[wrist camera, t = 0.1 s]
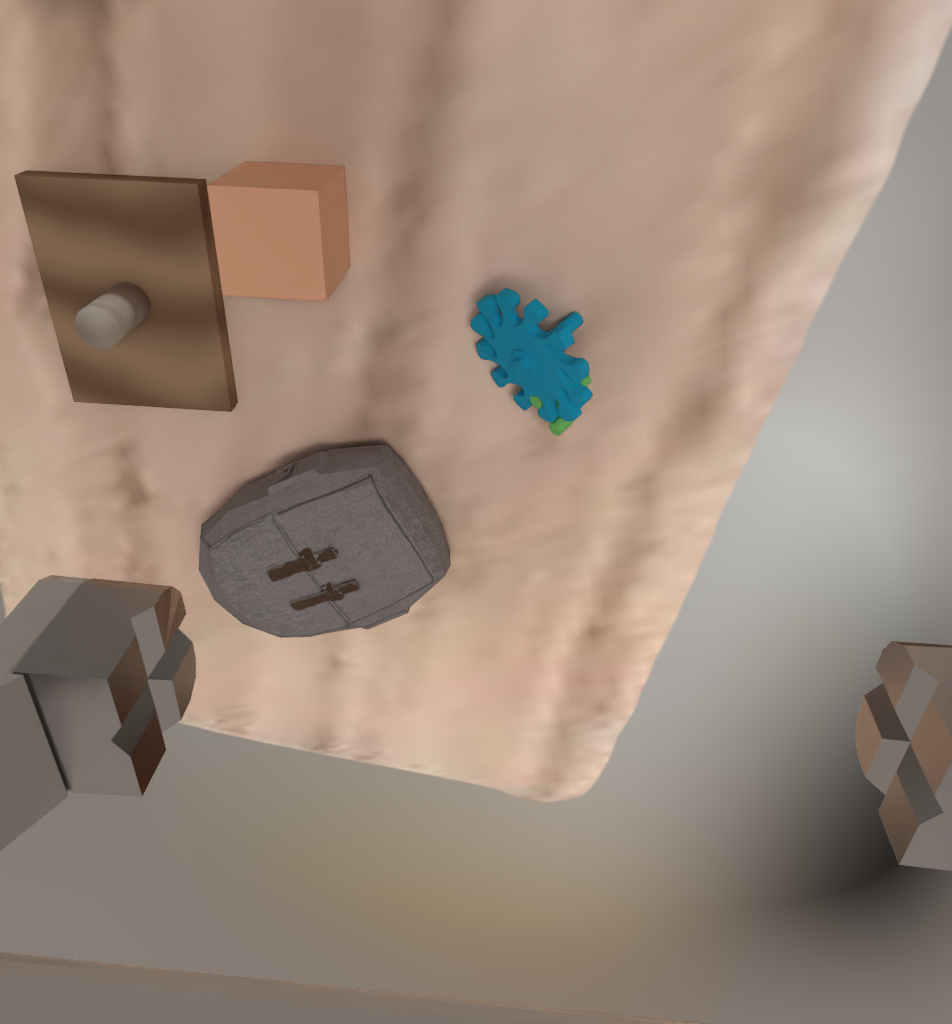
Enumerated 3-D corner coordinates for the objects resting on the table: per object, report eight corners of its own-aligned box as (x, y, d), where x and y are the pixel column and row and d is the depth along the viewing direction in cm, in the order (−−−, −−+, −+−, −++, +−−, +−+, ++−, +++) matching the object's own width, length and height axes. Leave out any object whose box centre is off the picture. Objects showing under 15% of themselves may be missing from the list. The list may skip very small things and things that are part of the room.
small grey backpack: (384, 406, 62) (176, 496, 68) (362, 461, 55) (132, 556, 61) (474, 556, 69) (278, 626, 75) (465, 621, 62) (249, 693, 68)
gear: (445, 292, 55) (551, 310, 48) (505, 246, 57) (615, 257, 50) (498, 423, 62) (598, 456, 54) (550, 378, 64) (653, 404, 57)
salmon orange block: (245, 161, 53) (207, 185, 47) (344, 166, 53) (317, 190, 47) (257, 261, 56) (222, 295, 51) (349, 266, 56) (325, 301, 50)
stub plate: (26, 170, 54) (-32, 192, 49) (205, 179, 54) (166, 202, 48) (83, 393, 63) (39, 432, 58) (237, 402, 63) (207, 443, 57)
